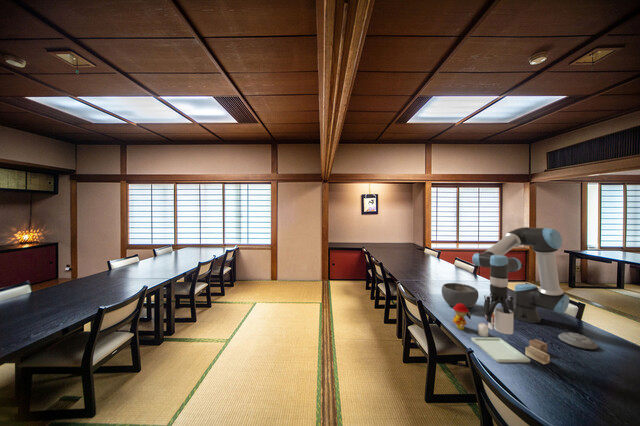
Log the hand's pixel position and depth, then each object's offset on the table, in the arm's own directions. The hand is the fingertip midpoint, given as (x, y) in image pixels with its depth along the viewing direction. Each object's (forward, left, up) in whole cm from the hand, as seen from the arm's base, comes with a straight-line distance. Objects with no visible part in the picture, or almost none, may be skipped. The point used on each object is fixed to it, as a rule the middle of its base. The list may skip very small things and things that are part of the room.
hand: (498, 328), depth 126 cm
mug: (0, 0, -1) cm, 1 cm away
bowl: (-14, -59, -12) cm, 62 cm away
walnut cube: (-20, +1, -12) cm, 23 cm away
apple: (-19, -30, -12) cm, 38 cm away
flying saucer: (-49, -7, -12) cm, 51 cm away
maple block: (-14, +7, -12) cm, 20 cm away
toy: (+5, -25, -12) cm, 28 cm away
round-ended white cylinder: (-3, -16, -12) cm, 20 cm away
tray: (0, 0, -12) cm, 12 cm away
